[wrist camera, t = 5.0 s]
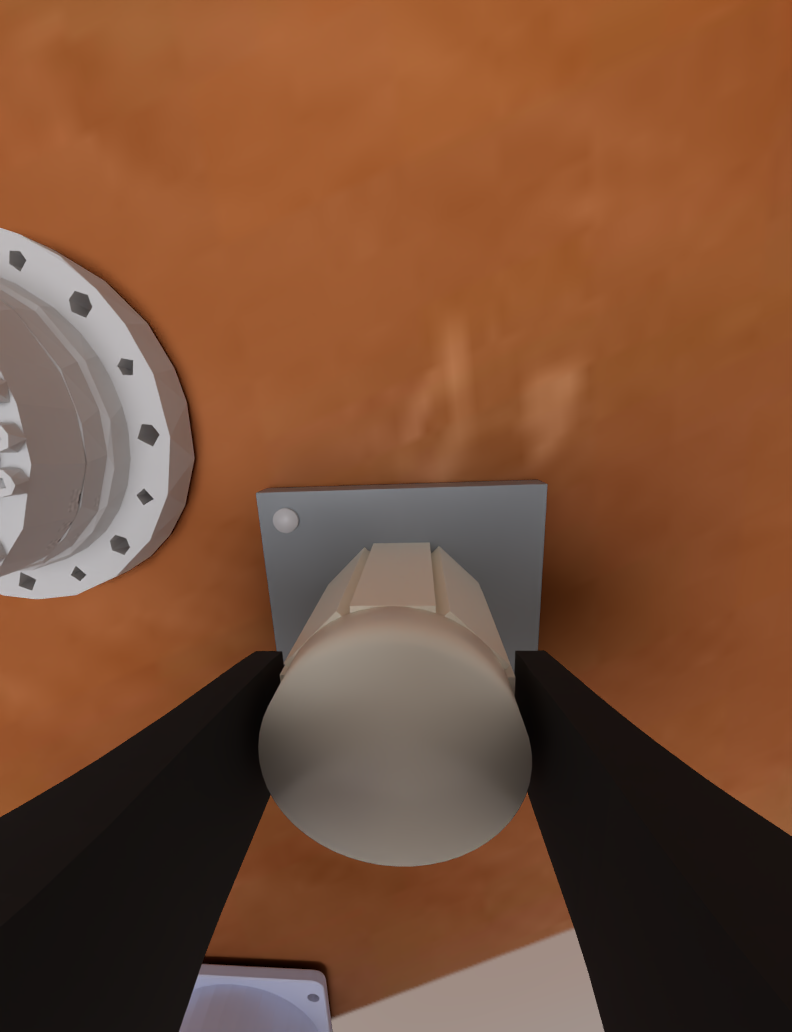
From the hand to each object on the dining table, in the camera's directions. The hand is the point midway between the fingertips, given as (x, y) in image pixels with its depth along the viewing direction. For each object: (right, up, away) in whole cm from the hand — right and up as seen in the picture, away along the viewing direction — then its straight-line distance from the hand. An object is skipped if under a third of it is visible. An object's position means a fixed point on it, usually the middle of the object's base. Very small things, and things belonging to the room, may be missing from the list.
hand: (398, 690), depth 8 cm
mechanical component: (-11, +7, +3) cm, 13 cm away
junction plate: (0, +1, +4) cm, 4 cm away
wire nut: (0, +1, +3) cm, 3 cm away
